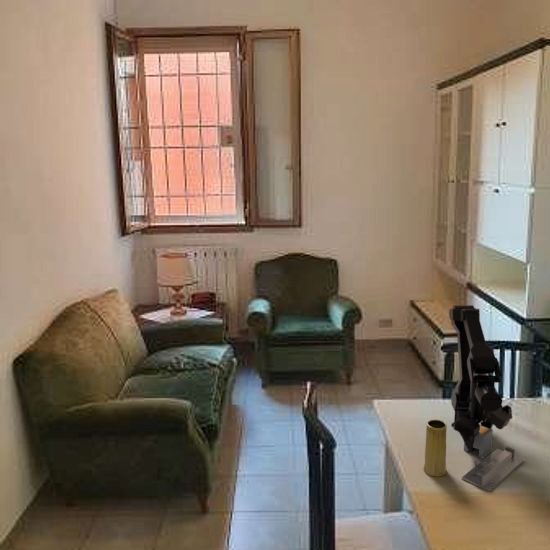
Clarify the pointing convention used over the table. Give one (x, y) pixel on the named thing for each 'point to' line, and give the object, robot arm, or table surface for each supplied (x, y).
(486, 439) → the grey slider block
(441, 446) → the vase
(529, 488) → the table surface
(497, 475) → the rail
